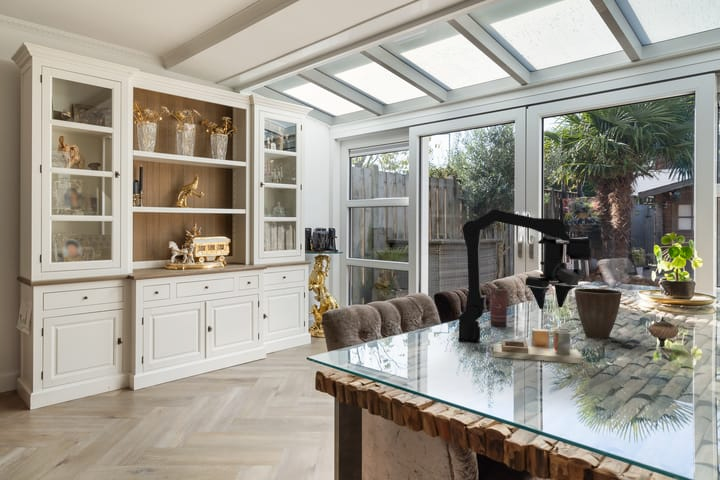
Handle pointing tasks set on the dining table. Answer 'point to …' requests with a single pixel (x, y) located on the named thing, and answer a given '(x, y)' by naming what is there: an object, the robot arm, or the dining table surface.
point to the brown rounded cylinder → (498, 307)
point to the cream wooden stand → (540, 350)
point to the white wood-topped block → (539, 337)
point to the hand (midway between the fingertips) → (551, 308)
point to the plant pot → (597, 310)
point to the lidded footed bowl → (663, 331)
